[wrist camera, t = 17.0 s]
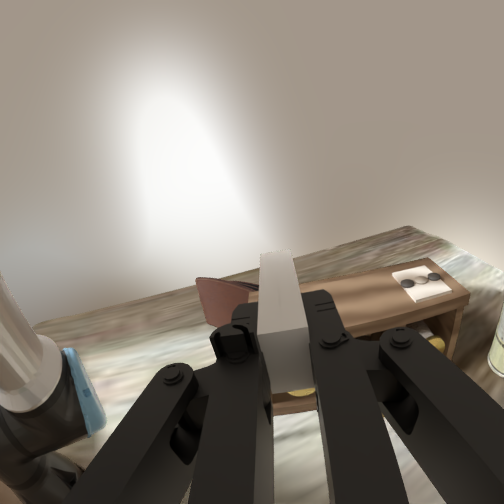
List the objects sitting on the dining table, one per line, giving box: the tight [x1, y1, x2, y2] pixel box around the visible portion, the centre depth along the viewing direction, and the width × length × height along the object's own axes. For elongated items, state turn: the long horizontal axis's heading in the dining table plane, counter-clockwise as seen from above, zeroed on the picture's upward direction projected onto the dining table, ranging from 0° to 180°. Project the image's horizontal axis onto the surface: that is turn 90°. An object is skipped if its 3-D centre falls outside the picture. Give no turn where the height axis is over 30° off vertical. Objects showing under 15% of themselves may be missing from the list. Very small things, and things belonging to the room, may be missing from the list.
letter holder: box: [195, 277, 259, 328], centre depth 66 cm, size 10×20×14 cm, turn 50°
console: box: [248, 257, 470, 416], centre depth 42 cm, size 14×33×17 cm, turn 88°
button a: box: [406, 320, 445, 353], centre depth 40 cm, size 13×5×5 cm, turn 178°
